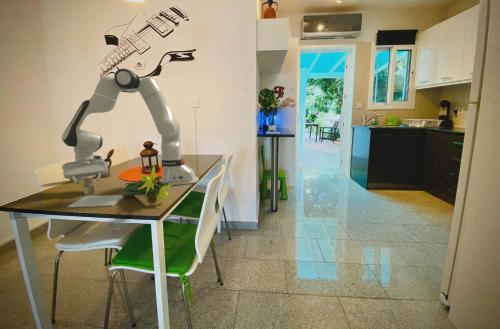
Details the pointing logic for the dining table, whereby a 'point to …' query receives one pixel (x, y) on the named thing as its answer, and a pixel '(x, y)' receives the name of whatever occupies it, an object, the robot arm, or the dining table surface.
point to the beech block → (88, 185)
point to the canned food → (76, 178)
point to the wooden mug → (107, 165)
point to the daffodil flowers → (147, 186)
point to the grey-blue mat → (97, 201)
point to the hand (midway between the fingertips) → (87, 182)
